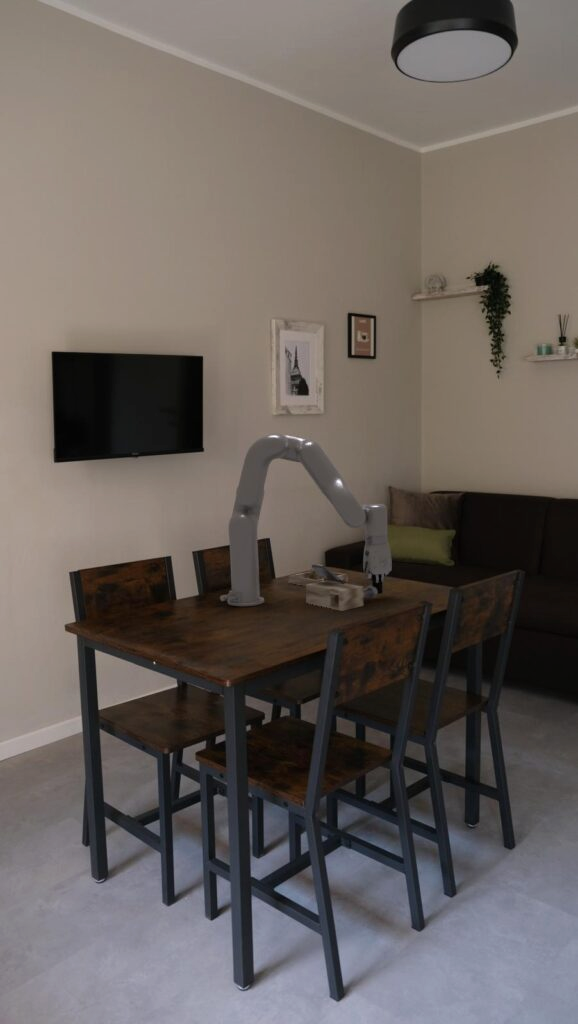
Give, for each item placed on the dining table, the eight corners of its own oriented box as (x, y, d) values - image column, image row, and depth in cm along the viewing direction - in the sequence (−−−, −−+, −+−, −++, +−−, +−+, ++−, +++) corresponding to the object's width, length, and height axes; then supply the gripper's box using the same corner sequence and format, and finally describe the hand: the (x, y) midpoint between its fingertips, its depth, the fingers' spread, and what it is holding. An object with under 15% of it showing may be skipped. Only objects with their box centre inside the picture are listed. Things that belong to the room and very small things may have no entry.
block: (342, 611, 269) (341, 587, 268) (306, 603, 282) (305, 581, 281) (363, 605, 276) (363, 583, 275) (327, 598, 288) (327, 576, 287)
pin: (346, 606, 272) (346, 593, 271) (336, 604, 275) (336, 591, 275) (377, 598, 282) (377, 585, 282) (368, 596, 285) (368, 584, 285)
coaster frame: (316, 588, 305) (316, 580, 305) (288, 583, 316) (288, 575, 316) (347, 582, 316) (347, 574, 315) (319, 577, 327) (319, 569, 327)
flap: (325, 568, 275) (327, 566, 276) (311, 566, 281) (312, 564, 281) (341, 583, 281) (342, 581, 281) (326, 580, 286) (327, 578, 286)
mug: (332, 585, 311) (318, 563, 311) (315, 594, 317) (301, 572, 317) (342, 577, 317) (328, 555, 317) (325, 586, 323) (311, 564, 323)
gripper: (369, 543, 275) (370, 598, 277) (399, 538, 285) (400, 591, 287) (353, 541, 281) (354, 595, 283) (382, 536, 291) (383, 588, 293)
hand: (377, 593), depth 285 cm, fingers closed
